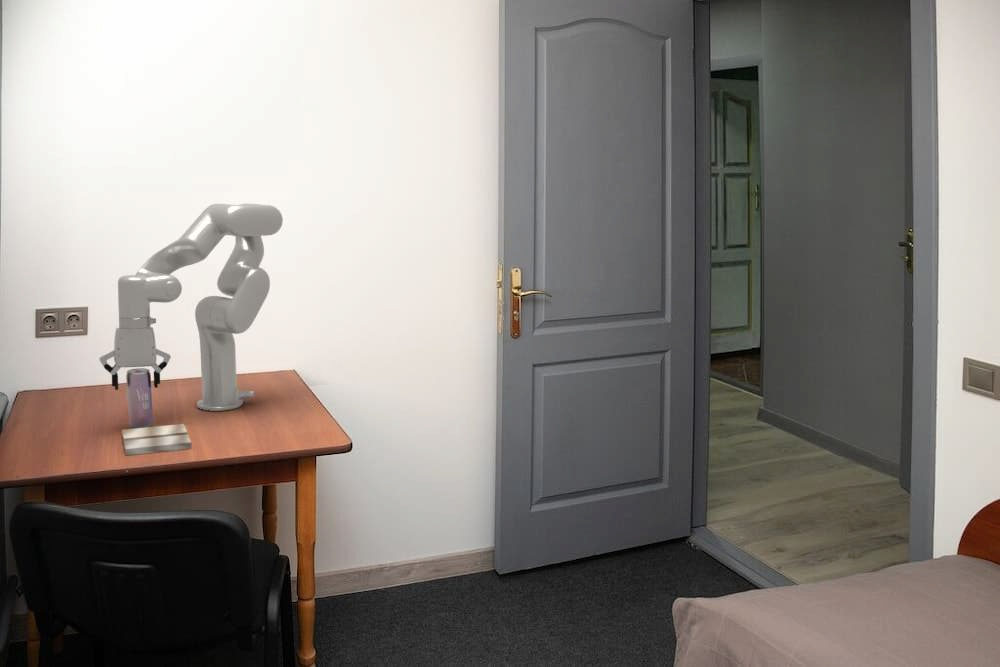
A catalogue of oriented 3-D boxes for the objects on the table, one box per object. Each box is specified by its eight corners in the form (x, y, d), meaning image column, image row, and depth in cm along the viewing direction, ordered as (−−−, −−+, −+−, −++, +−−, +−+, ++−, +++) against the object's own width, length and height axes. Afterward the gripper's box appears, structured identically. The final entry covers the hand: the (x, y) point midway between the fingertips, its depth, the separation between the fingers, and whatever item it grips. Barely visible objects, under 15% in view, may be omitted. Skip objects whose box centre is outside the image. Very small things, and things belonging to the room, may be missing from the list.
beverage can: (148, 421, 252) (145, 367, 249) (156, 426, 248) (153, 371, 245) (126, 424, 249) (122, 369, 246) (133, 430, 244) (130, 374, 241)
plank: (183, 429, 246) (183, 423, 245) (187, 438, 238) (187, 432, 238) (122, 435, 239) (122, 429, 239) (124, 444, 232) (123, 438, 232)
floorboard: (187, 439, 237) (187, 433, 237) (191, 448, 230) (191, 442, 230) (124, 445, 231) (123, 439, 231) (125, 455, 224) (125, 449, 224)
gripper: (168, 320, 249) (169, 383, 252) (98, 322, 242) (100, 386, 245) (171, 324, 243) (172, 389, 246) (98, 326, 236) (100, 392, 238)
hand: (136, 387), depth 245 cm, fingers open, 9 cm apart
